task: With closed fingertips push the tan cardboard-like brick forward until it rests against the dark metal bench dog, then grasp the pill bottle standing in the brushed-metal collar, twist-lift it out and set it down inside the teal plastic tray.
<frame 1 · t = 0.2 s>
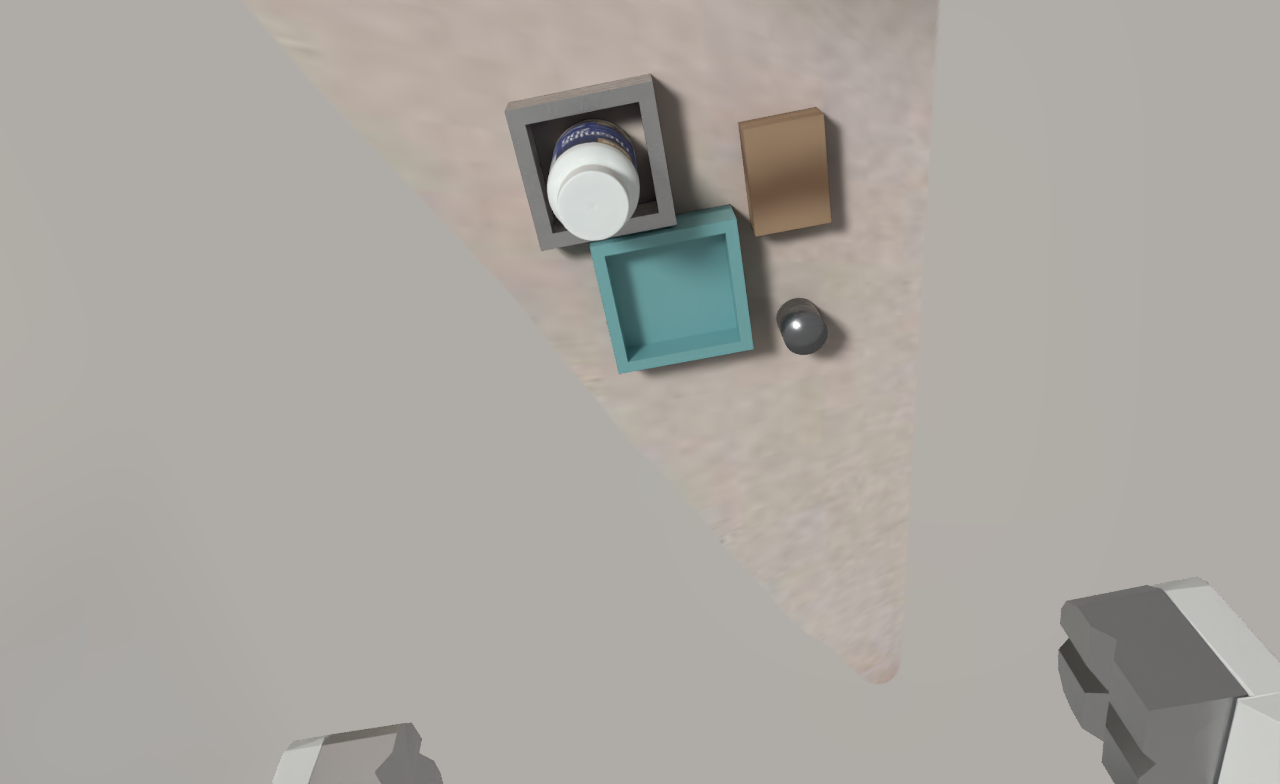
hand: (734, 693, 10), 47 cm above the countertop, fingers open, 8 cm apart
tan cardboard-like brick: (781, 167, 55), on the countertop
collar: (594, 159, 54), on the countertop
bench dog: (797, 317, 60), on the countertop
tray: (671, 282, 58), on the countertop
pill bottle: (594, 158, 54), resting in collar
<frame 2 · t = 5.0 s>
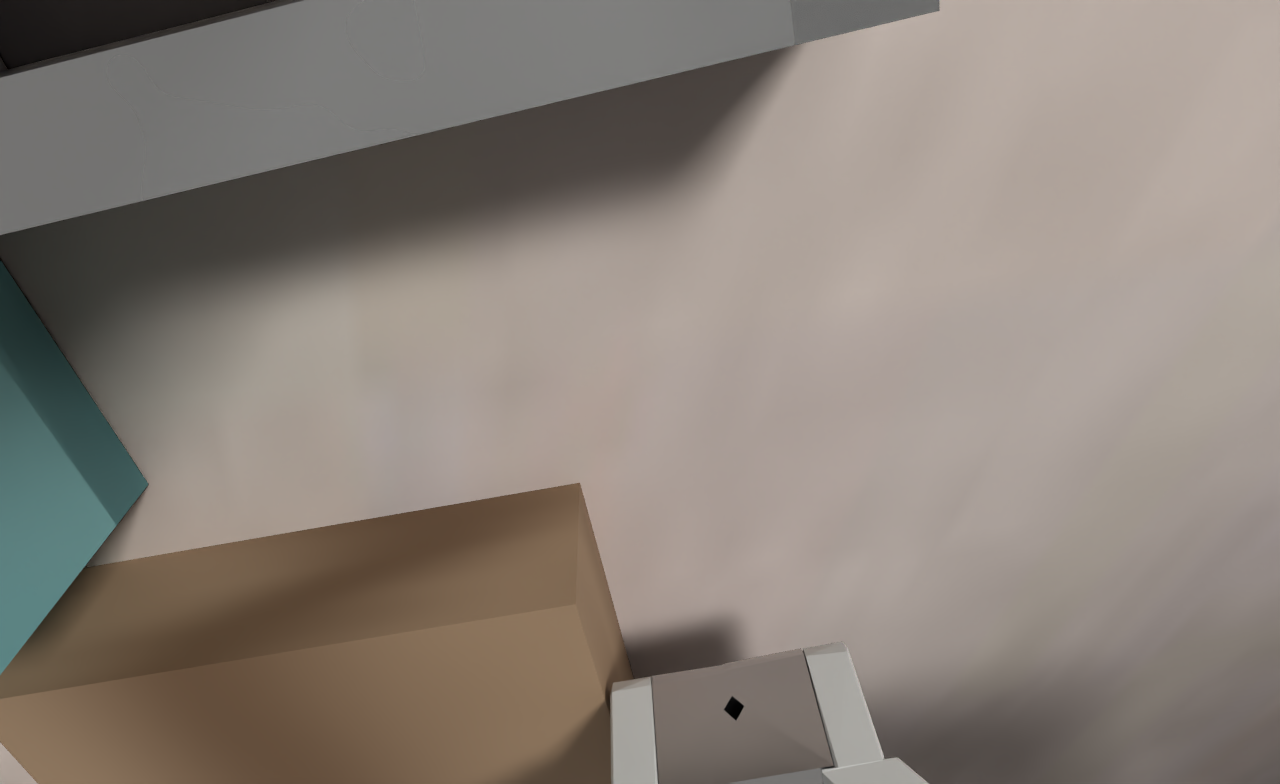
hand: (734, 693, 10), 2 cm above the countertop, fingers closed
tan cardboard-like brick: (389, 638, 13), on the countertop, touching gripper
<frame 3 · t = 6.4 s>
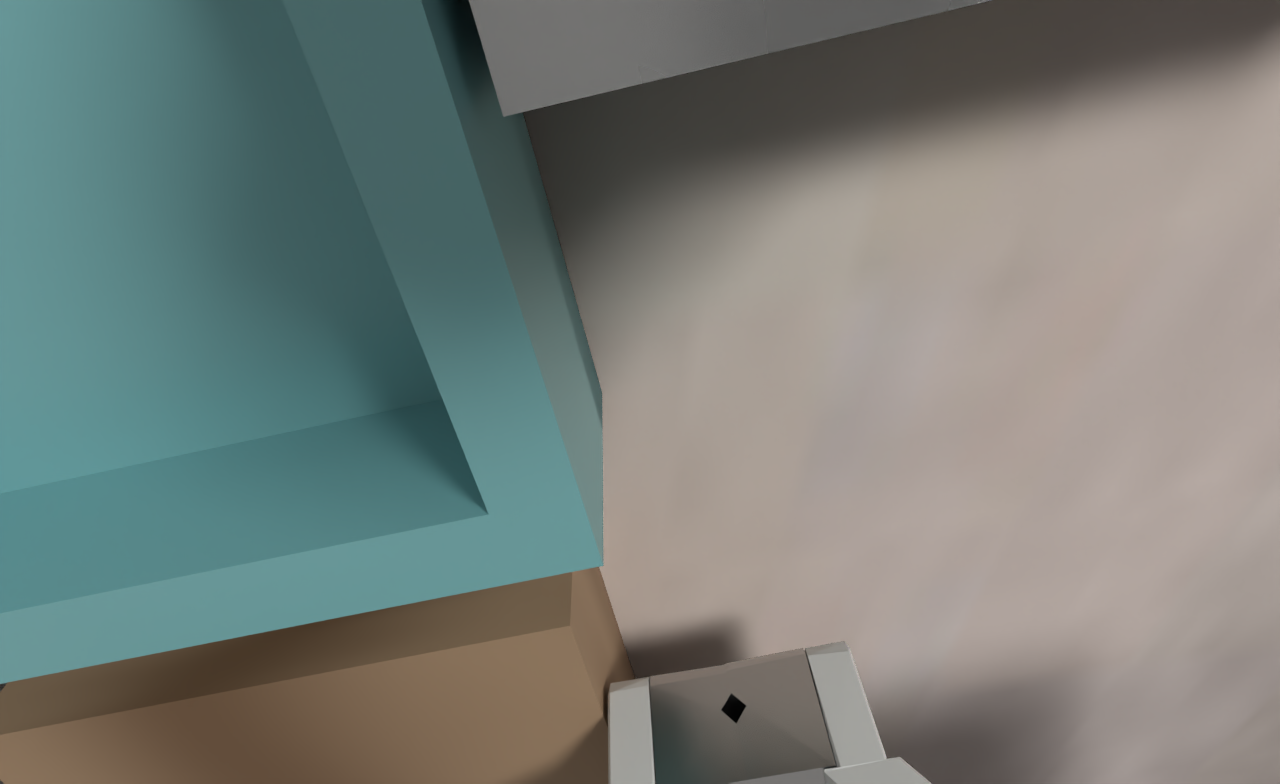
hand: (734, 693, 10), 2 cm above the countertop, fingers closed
tan cardboard-like brick: (390, 659, 12), on the countertop, touching gripper
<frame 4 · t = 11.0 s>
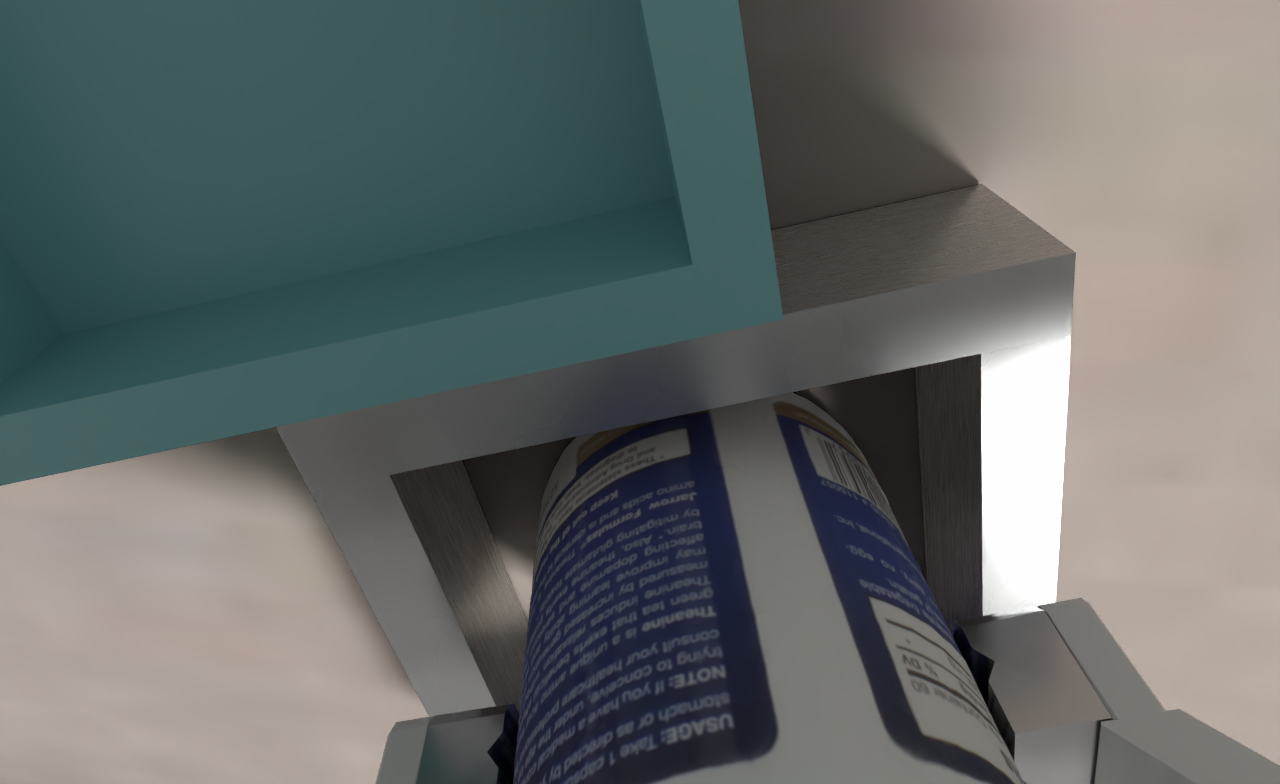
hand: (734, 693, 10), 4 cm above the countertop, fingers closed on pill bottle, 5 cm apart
collar: (705, 511, 14), on the countertop
pill bottle: (704, 502, 14), resting in collar, touching gripper
when the fingers open (6 cm above the countertop, at t = 16.6 s): pill bottle stays where it is, resting on tray.
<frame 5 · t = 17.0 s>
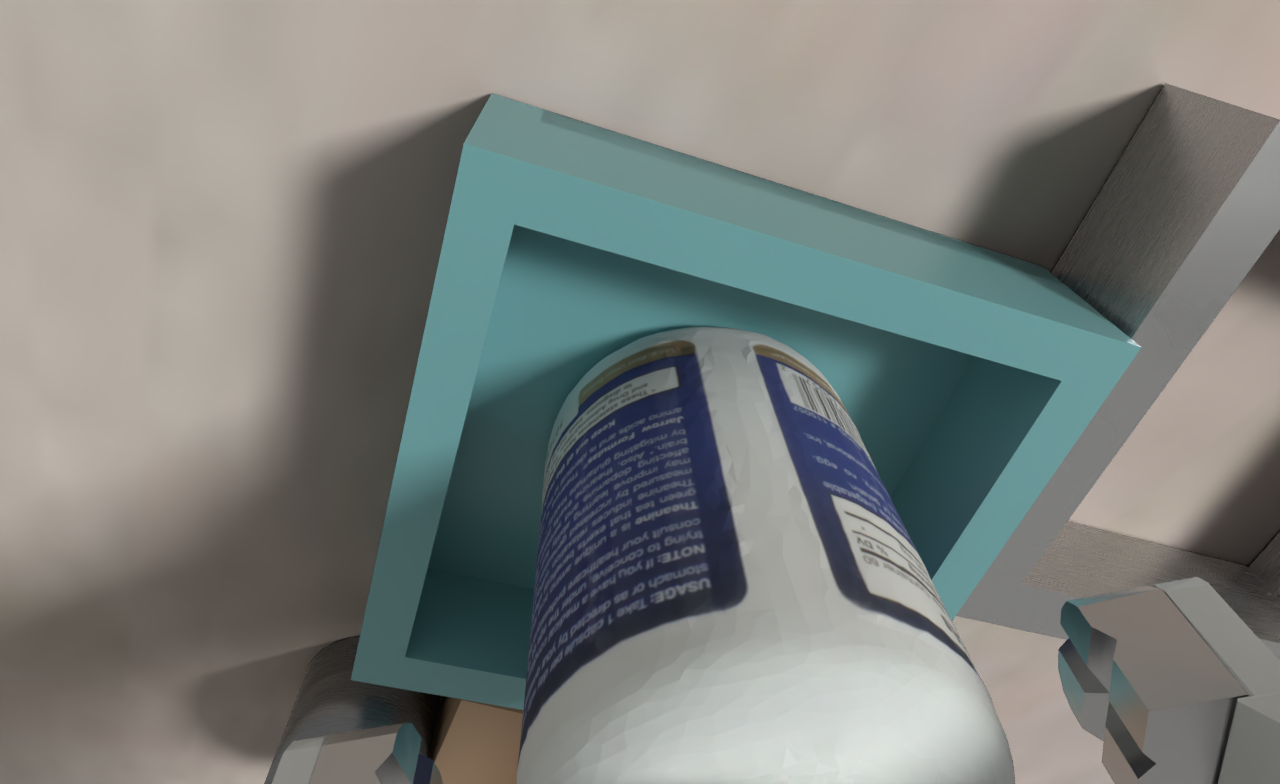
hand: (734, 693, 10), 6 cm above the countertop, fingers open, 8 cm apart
tan cardboard-like brick: (587, 712, 20), on the countertop
collar: (1219, 395, 16), on the countertop
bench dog: (375, 683, 19), on the countertop
tray: (687, 427, 16), on the countertop
pill bottle: (696, 445, 15), point 1 cm above the countertop, touching tray
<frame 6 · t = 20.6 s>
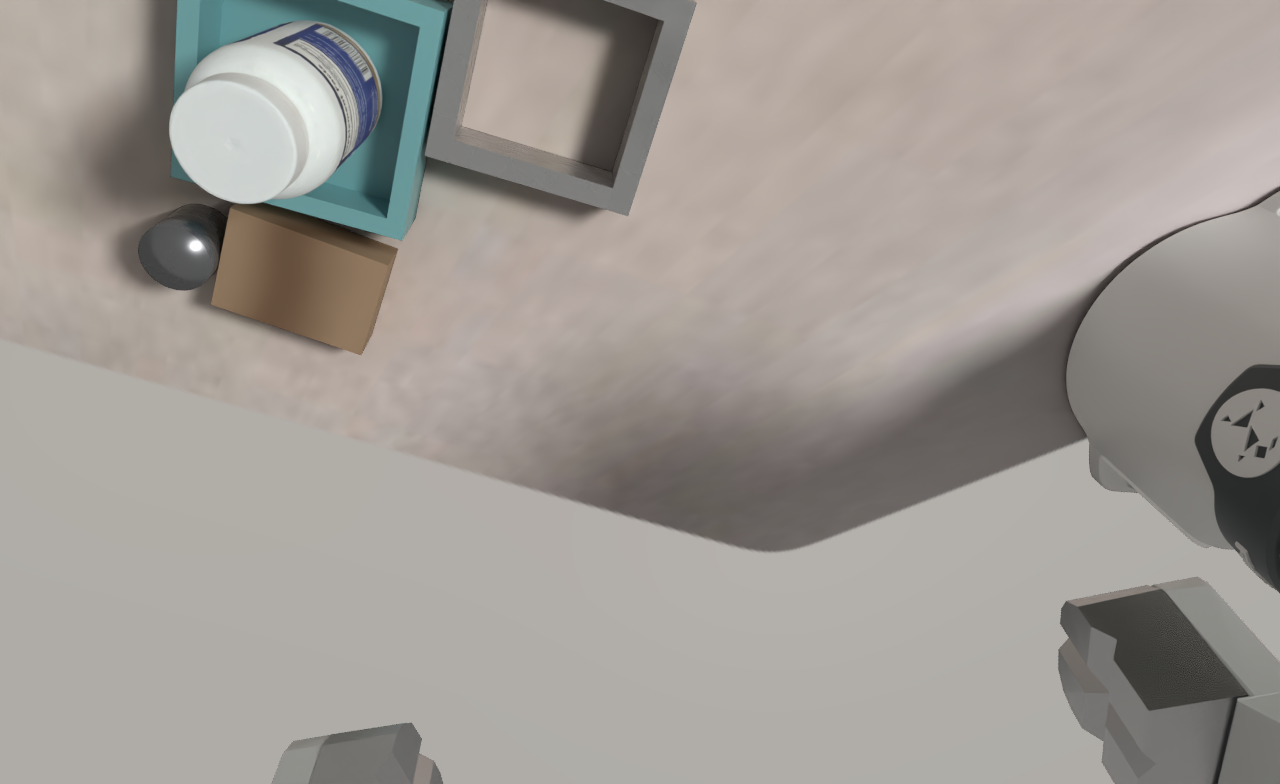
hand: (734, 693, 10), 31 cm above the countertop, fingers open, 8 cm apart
tan cardboard-like brick: (314, 264, 40), on the countertop
collar: (558, 71, 36), on the countertop
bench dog: (202, 235, 39), on the countertop
tray: (323, 83, 36), on the countertop
pill bottle: (322, 86, 35), point 1 cm above the countertop, touching tray
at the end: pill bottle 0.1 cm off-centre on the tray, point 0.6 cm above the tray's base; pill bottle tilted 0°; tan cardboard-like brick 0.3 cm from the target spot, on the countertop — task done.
